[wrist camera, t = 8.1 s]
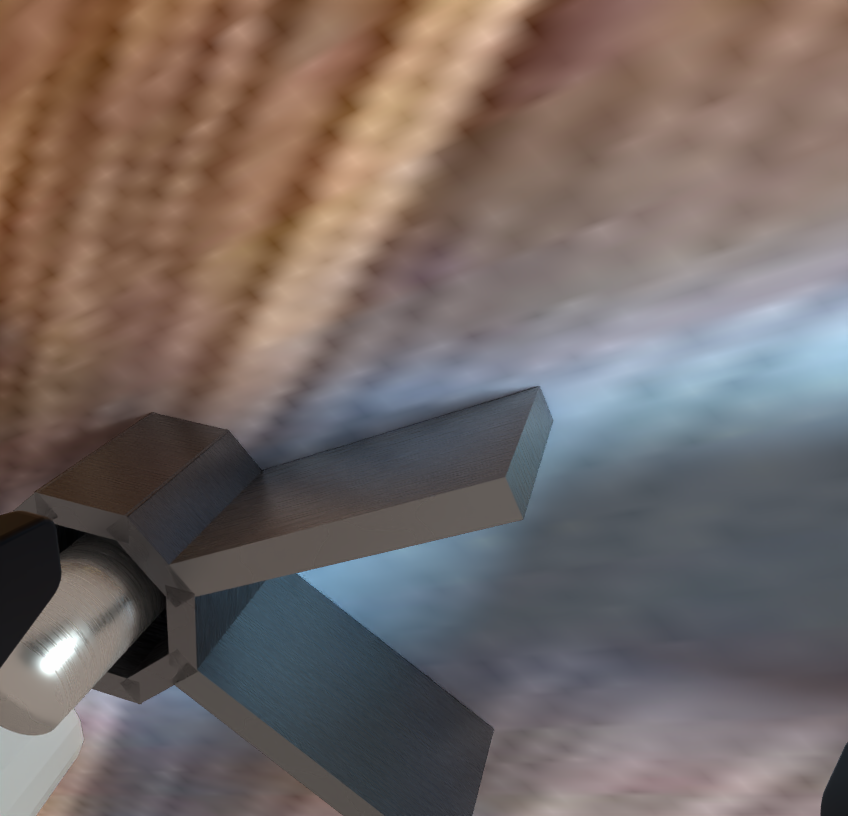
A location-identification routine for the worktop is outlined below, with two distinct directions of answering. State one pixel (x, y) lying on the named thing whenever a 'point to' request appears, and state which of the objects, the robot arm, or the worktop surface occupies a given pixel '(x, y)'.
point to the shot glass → (36, 765)
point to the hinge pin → (77, 635)
